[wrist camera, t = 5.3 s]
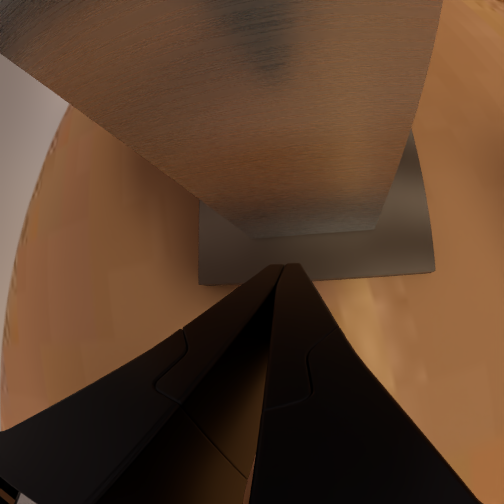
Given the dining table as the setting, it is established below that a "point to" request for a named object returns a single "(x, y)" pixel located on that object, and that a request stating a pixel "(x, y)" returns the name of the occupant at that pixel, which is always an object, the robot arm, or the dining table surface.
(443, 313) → the dining table surface
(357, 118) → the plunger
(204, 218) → the launcher
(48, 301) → the dining table surface
